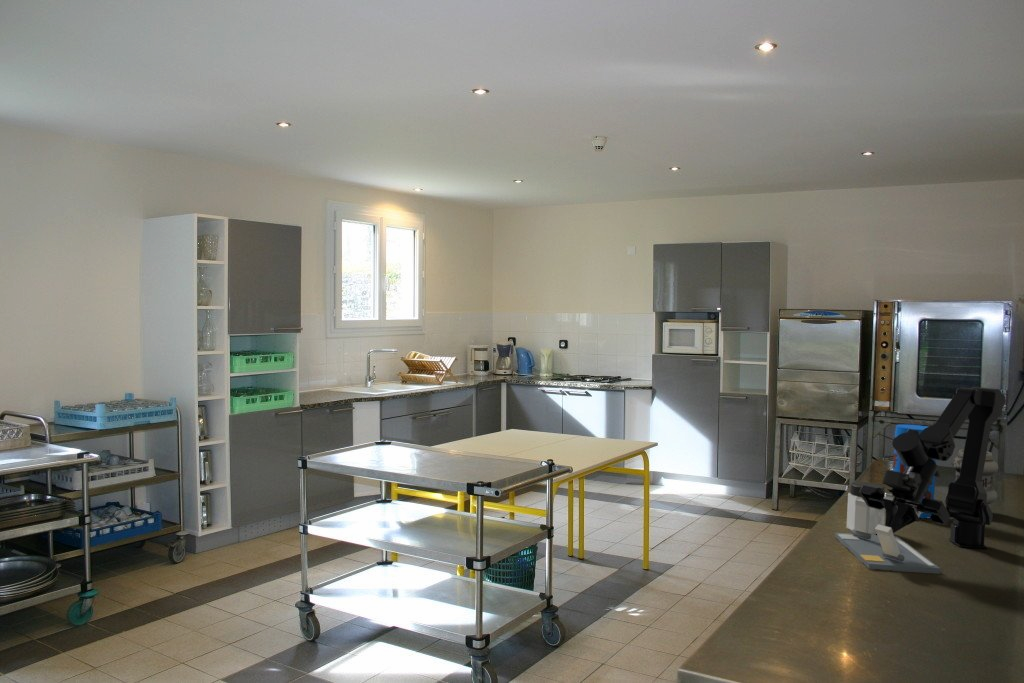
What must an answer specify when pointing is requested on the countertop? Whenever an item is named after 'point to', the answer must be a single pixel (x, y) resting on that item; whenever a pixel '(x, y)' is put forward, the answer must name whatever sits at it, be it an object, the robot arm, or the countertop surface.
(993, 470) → the apothecary jar
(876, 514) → the jar
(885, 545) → the lever
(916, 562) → the switch panel
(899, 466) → the thermos
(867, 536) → the lever
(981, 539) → the robot arm
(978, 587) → the countertop surface
